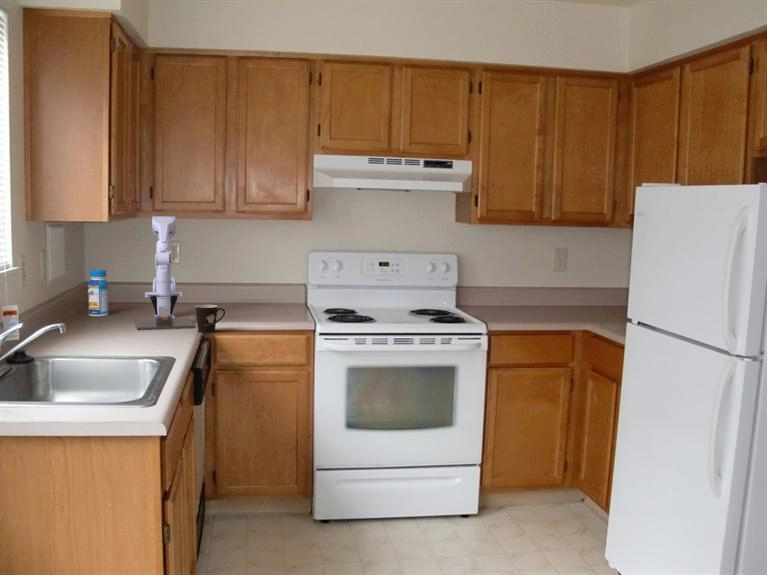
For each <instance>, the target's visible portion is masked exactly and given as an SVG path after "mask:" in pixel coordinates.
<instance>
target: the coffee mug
mask: <svg viewBox="0 0 767 575" xmlns="http://www.w3.org/2000/svg"><path fill="white" fill-rule="evenodd" d="M194 308H195V315H196V323H197V332H198V333H202V334H203V333H204V334H207V333H208V334H209V333H210V334H212V333H215V332H216V325H217V323H218V322H220V321H221V320H222V319H223V318H224V316H225V315H226V311H225V308H222V307H218V305H216V304H198V305H197V304H196V305H195V306H194ZM219 311H223V313H222V316H221V317H220V318H219V319H217V317H218V312H219Z"/></svg>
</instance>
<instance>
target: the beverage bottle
mask: <svg viewBox="0 0 767 575" xmlns="http://www.w3.org/2000/svg"><path fill="white" fill-rule="evenodd" d="M106 277H107V270H106V269H96V268H95V269H90V270H89V278H90V280H89V281H88V284H87V287H88V290H87V295H88V316H90V317H105V316H108V315H109V289H108V286H109V284H108V282H107V280H106Z"/></svg>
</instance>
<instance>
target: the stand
mask: <svg viewBox="0 0 767 575" xmlns="http://www.w3.org/2000/svg"><path fill="white" fill-rule="evenodd" d="M133 320H134V325H135V328H136V330H137V331H150V330H151V331H152V330H154V331H155V330H182V329H195V328H196V326H195V324H194V323H193V321H192V319H190V318H189V317H175V318H172V316H171V315H169V317H159V316H156V318H140V319H139V318H137V319H133Z"/></svg>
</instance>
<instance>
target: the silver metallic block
mask: <svg viewBox="0 0 767 575" xmlns="http://www.w3.org/2000/svg"><path fill="white" fill-rule="evenodd" d="M159 317H169V307H168V306H161V307H159Z"/></svg>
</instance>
